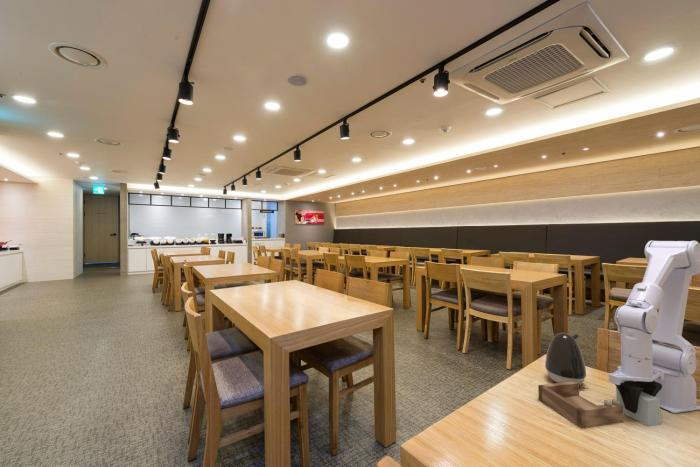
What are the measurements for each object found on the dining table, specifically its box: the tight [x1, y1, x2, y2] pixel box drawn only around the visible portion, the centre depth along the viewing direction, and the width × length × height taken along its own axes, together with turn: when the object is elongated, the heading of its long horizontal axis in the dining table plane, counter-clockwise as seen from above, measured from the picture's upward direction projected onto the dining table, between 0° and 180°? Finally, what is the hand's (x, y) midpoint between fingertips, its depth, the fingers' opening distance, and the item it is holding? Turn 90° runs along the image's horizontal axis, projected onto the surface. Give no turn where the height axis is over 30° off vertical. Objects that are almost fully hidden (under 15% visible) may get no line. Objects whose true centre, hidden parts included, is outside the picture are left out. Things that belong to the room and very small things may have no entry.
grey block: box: [615, 386, 661, 427], centre depth 74 cm, size 4×7×6 cm, turn 11°
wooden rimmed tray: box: [537, 381, 624, 429], centre depth 76 cm, size 12×12×5 cm
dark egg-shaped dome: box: [544, 332, 587, 386], centre depth 91 cm, size 10×10×15 cm
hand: (637, 409), depth 74 cm, fingers closed on grey block, 3 cm apart
